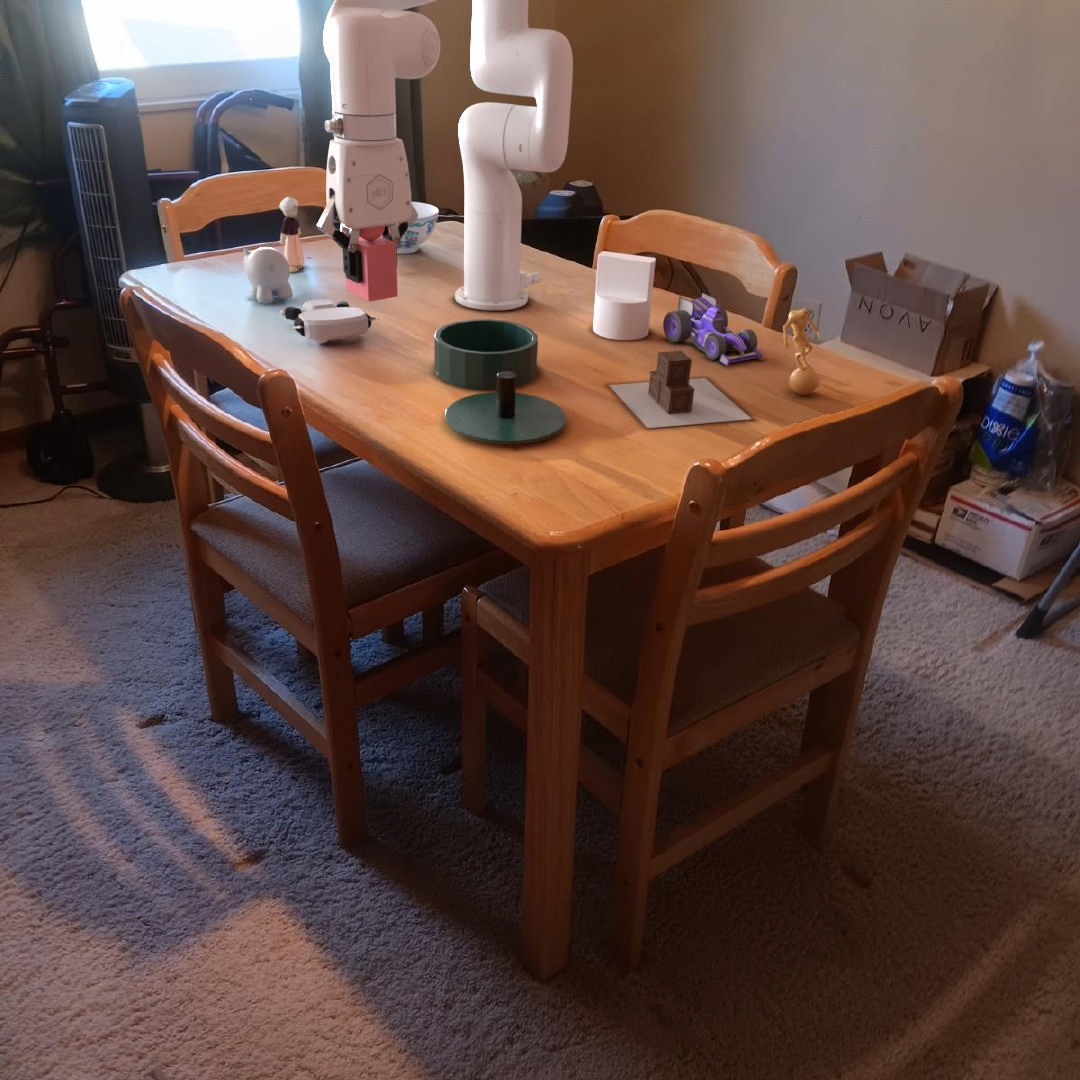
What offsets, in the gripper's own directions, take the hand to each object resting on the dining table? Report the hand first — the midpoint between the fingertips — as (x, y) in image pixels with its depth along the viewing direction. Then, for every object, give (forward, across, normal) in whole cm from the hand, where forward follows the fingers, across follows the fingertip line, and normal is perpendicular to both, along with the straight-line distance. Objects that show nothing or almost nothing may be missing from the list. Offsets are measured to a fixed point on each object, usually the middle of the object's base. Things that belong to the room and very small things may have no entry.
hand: (371, 276), depth 131 cm
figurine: (+15, +48, -35) cm, 61 cm away
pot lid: (+15, +7, -20) cm, 26 cm away
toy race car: (+15, +52, -16) cm, 57 cm away
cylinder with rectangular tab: (+15, +45, -2) cm, 48 cm away
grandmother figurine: (+15, +18, +57) cm, 62 cm away
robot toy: (+15, +5, +22) cm, 27 cm away
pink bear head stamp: (+2, 0, 0) cm, 2 cm away
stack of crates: (+15, +31, -28) cm, 45 cm away
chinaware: (+15, +42, +58) cm, 73 cm away
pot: (+15, +16, -4) cm, 23 cm away
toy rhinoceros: (+15, +6, +45) cm, 48 cm away
